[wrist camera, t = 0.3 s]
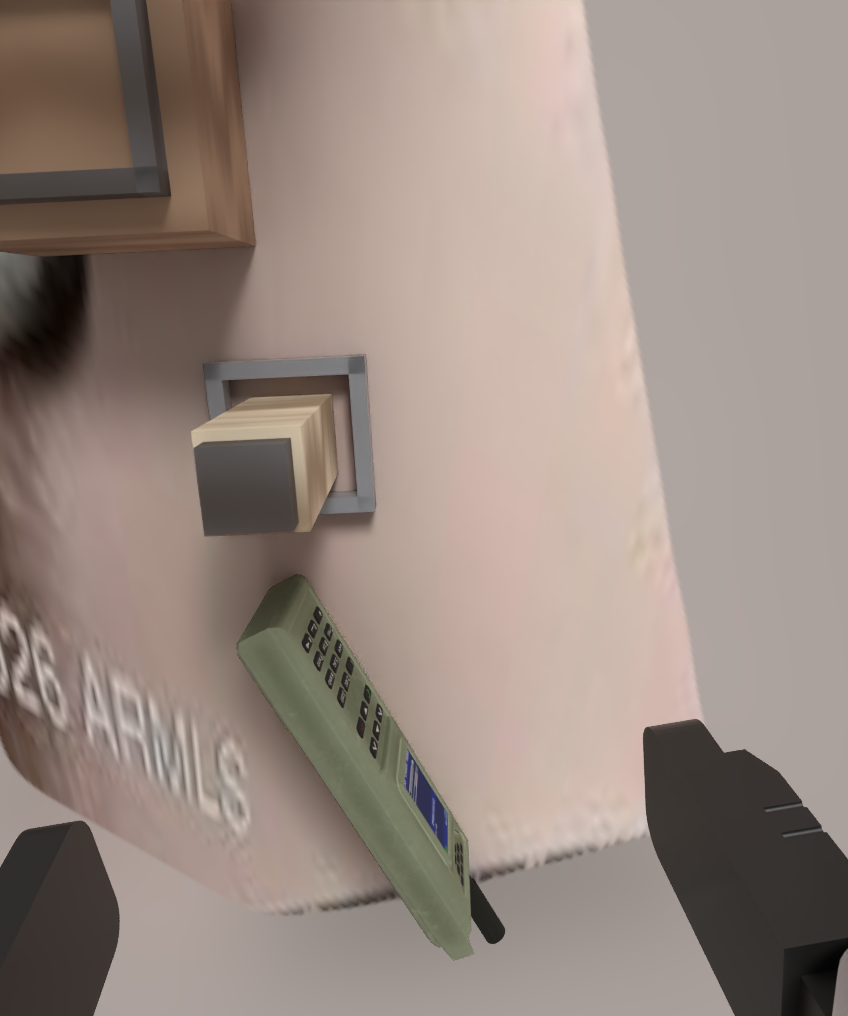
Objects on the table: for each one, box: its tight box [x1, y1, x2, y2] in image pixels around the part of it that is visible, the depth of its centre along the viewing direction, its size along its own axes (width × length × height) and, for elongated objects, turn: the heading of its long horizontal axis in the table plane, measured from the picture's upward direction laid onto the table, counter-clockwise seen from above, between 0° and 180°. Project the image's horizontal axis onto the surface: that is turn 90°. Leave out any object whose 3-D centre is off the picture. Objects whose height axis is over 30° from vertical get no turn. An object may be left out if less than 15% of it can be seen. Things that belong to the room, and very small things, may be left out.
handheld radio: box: [237, 575, 505, 960], centre depth 39 cm, size 7×3×25 cm
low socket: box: [203, 354, 376, 514], centre depth 36 cm, size 8×8×1 cm
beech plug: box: [191, 393, 338, 536], centre depth 32 cm, size 4×4×11 cm
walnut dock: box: [0, 0, 256, 257], centre depth 29 cm, size 10×10×9 cm
